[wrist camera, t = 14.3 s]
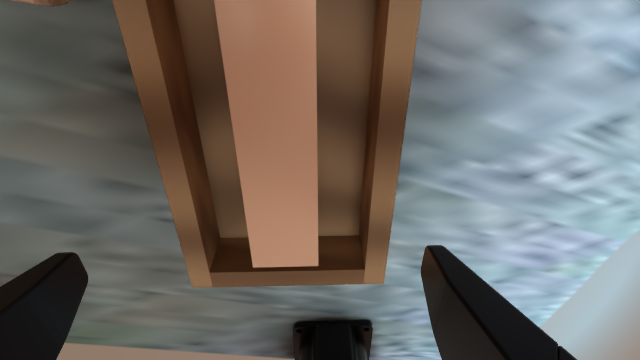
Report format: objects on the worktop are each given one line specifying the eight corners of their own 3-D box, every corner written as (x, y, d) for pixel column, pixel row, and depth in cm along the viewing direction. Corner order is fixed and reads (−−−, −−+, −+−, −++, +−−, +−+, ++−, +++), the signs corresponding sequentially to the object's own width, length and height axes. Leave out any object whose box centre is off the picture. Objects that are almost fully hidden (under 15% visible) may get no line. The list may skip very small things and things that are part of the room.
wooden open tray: (373, 238, 25) (383, 283, 22) (208, 241, 25) (192, 287, 21) (412, -143, 14) (444, -173, 11) (122, -144, 14) (63, -175, 11)
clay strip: (317, 219, 23) (318, 266, 19) (261, 220, 23) (252, 267, 19) (313, -71, 15) (314, -78, 11) (227, -71, 15) (202, -77, 11)
